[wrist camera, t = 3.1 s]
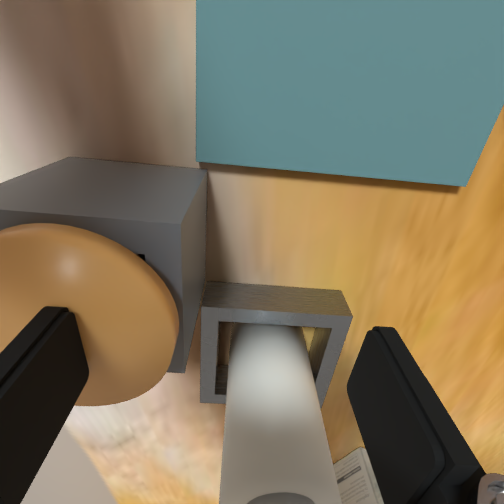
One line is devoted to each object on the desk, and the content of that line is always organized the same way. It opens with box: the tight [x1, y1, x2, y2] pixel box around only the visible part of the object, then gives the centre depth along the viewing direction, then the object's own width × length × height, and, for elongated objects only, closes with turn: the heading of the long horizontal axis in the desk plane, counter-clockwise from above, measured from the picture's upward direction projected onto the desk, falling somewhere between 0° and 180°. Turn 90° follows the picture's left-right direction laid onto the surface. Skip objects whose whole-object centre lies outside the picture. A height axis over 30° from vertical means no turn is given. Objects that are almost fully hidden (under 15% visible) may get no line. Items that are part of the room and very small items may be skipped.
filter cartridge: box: [219, 322, 342, 504], centre depth 16 cm, size 5×5×11 cm
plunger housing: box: [0, 157, 207, 373], centre depth 14 cm, size 7×7×7 cm
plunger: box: [0, 223, 179, 406], centre depth 11 cm, size 7×7×5 cm
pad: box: [196, 0, 504, 187], centre depth 12 cm, size 14×12×1 cm
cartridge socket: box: [200, 281, 353, 408], centre depth 20 cm, size 9×9×2 cm
